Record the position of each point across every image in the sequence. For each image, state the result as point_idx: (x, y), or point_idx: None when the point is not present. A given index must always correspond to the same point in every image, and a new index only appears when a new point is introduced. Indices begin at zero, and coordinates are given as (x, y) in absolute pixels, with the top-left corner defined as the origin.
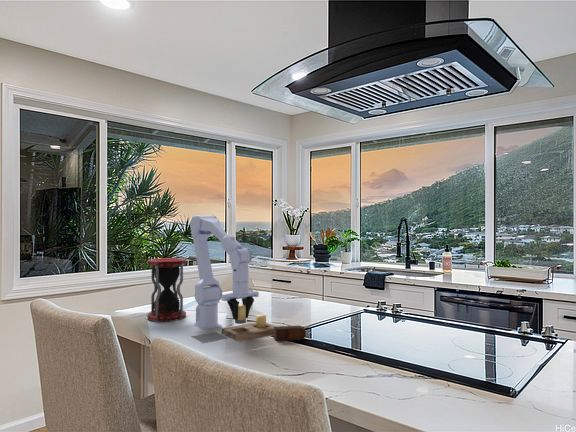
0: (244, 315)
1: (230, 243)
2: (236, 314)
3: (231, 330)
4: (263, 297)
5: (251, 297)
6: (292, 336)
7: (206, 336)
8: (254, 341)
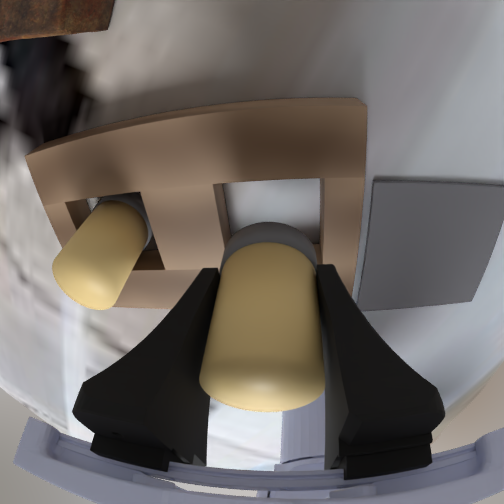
0: (245, 273)
1: None
2: (340, 294)
3: (330, 245)
4: (84, 436)
5: (102, 443)
6: None
7: (438, 271)
8: (250, 35)
